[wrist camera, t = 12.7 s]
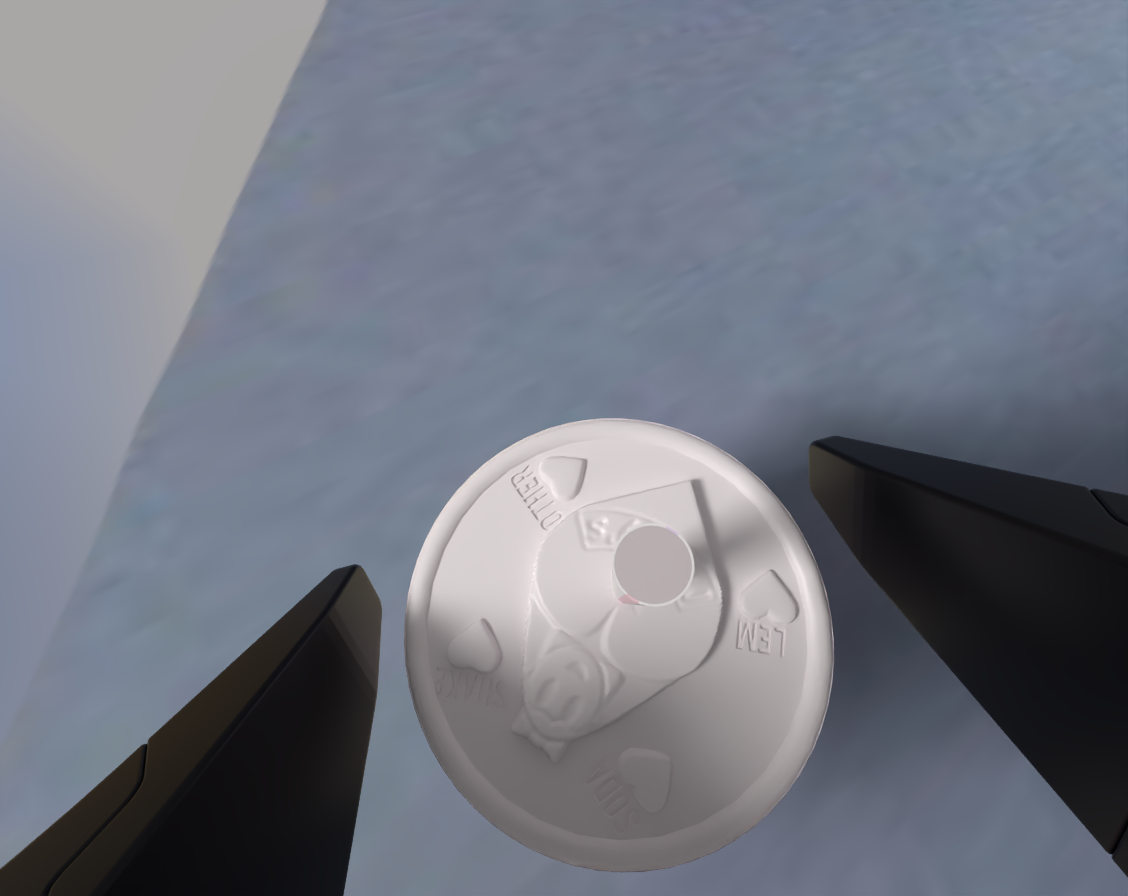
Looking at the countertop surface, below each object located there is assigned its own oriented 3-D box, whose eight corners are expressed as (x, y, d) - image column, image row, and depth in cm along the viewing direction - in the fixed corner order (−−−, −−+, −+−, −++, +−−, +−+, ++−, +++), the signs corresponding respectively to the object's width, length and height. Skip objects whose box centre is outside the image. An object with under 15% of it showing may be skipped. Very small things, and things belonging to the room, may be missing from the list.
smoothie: (747, 579, 17) (1303, 480, 3) (646, 765, 15) (886, 1857, 2) (580, 478, 18) (492, 124, 5) (475, 640, 17) (-47, 784, 3)
